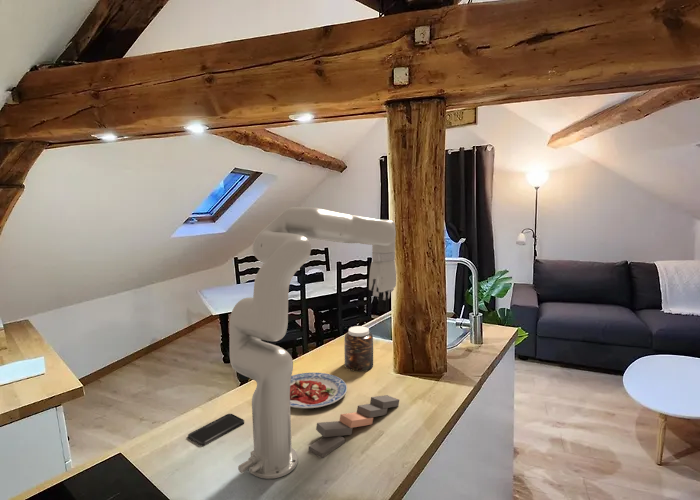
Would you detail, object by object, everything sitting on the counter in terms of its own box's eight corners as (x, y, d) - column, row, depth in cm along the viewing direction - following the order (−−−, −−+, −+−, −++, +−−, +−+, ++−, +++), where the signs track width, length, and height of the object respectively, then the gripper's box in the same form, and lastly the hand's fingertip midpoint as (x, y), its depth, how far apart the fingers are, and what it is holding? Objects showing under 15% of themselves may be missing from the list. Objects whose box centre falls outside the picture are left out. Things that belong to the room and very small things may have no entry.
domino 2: (344, 444, 119) (321, 460, 113) (331, 438, 122) (308, 452, 116) (344, 438, 119) (321, 453, 112) (331, 431, 122) (308, 446, 115)
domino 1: (351, 434, 122) (324, 437, 118) (342, 427, 127) (315, 429, 122) (352, 427, 122) (325, 429, 118) (343, 420, 127) (317, 422, 122)
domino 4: (398, 406, 139) (382, 408, 132) (385, 401, 142) (369, 403, 135) (399, 399, 139) (383, 402, 132) (387, 395, 142) (371, 397, 135)
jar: (379, 367, 169) (379, 330, 166) (354, 374, 162) (354, 336, 160) (362, 357, 179) (362, 323, 176) (338, 363, 172) (338, 328, 170)
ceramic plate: (258, 407, 139) (257, 398, 139) (291, 374, 164) (291, 367, 163) (333, 419, 132) (332, 410, 131) (356, 382, 156) (355, 374, 156)
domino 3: (386, 414, 134) (369, 417, 127) (373, 409, 137) (356, 412, 130) (387, 408, 134) (370, 411, 127) (374, 403, 137) (357, 405, 130)
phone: (245, 420, 129) (202, 444, 118) (246, 424, 130) (202, 448, 118) (229, 412, 134) (186, 434, 122) (229, 416, 134) (186, 438, 122)
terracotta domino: (372, 424, 128) (350, 427, 122) (360, 417, 132) (339, 421, 126) (373, 417, 128) (352, 420, 122) (361, 411, 132) (340, 414, 126)
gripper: (386, 253, 150) (386, 304, 153) (361, 259, 139) (361, 313, 141) (405, 255, 145) (404, 307, 148) (380, 261, 134) (379, 317, 137)
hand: (383, 310), depth 145 cm, fingers closed
